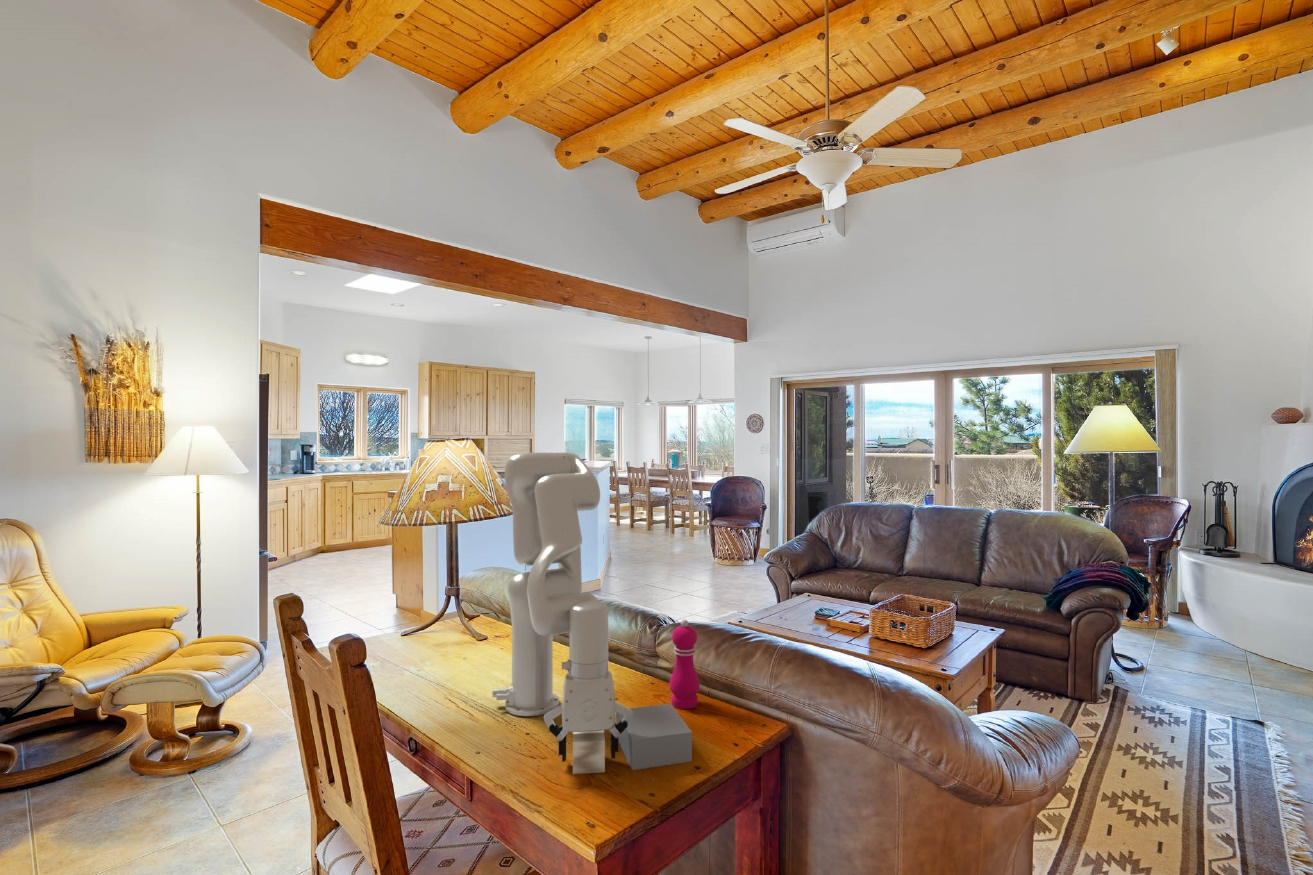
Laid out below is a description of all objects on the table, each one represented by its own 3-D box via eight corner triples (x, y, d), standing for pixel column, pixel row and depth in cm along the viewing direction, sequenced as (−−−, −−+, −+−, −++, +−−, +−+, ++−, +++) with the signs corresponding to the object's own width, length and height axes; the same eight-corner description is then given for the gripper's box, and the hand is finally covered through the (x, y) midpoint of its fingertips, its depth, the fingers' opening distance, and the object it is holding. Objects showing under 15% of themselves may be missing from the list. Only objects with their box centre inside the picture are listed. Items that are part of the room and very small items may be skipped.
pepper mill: (690, 712, 145) (690, 625, 145) (663, 705, 149) (663, 621, 149) (705, 701, 151) (705, 618, 151) (679, 695, 155) (679, 614, 155)
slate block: (632, 771, 119) (632, 739, 119) (616, 738, 133) (616, 709, 133) (691, 762, 123) (691, 731, 123) (670, 731, 136) (670, 703, 136)
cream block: (572, 774, 118) (572, 742, 118) (573, 758, 124) (573, 727, 124) (604, 772, 119) (604, 740, 119) (603, 756, 125) (603, 726, 125)
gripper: (542, 676, 117) (541, 769, 117) (635, 672, 119) (634, 764, 119) (544, 662, 124) (544, 749, 124) (631, 659, 126) (631, 745, 126)
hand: (588, 756), depth 121 cm, fingers open, 9 cm apart
